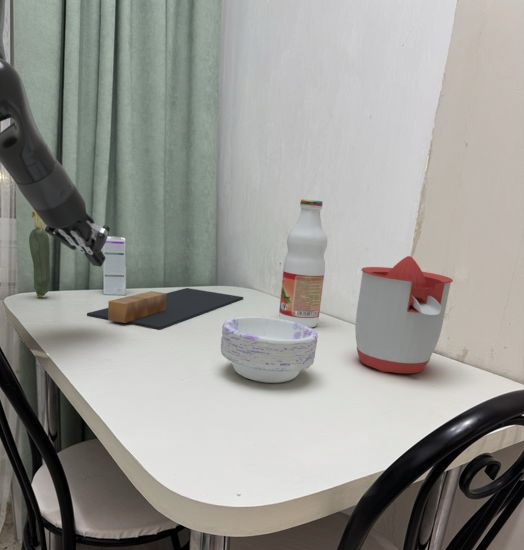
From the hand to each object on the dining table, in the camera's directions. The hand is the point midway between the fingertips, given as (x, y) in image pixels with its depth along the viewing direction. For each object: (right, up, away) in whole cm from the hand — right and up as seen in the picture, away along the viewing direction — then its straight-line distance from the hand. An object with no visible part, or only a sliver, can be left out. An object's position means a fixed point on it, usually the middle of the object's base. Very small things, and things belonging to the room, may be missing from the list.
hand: (99, 262), depth 95 cm
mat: (+9, -6, +30) cm, 32 cm away
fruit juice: (+39, -10, +24) cm, 47 cm away
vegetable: (-22, -4, +25) cm, 34 cm away
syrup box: (-9, -1, +39) cm, 40 cm away
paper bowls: (+31, -20, -13) cm, 39 cm away
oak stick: (+1, -9, +8) cm, 12 cm away
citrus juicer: (+55, -20, -2) cm, 58 cm away
